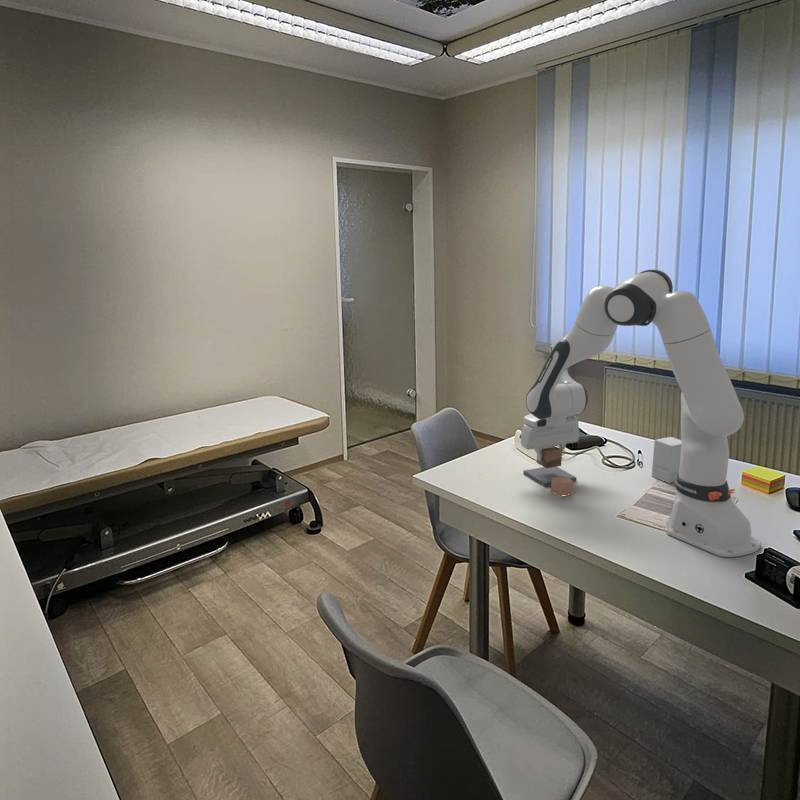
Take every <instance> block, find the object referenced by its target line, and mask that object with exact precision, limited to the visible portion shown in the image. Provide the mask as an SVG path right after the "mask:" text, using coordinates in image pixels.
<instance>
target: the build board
mask: <svg viewBox="0 0 800 800" xmlns="http://www.w3.org/2000/svg"><path fill="white" fill-rule="evenodd" d="M523 475H525V476H526V477H528V478H529V479H531V480H533V481H535V482H536V483H537V482H538V483H537V484H539V485H541V486H542V485H543V487H544V488H545V486H547V487H551V486H550V485H551V482H552V478H555V477H560V476H565V477H567V478H569V479H571V480H572V481H573V482H577V476H575V475H573V474H572V473H569V472H567V471H565V470H563V469H562V468H560V467H559V466H557V467H551V468H545V467H543V466H542V467H541V466H540V467H537V468H531V469H525V470H523Z"/></svg>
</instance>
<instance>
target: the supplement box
mask: <svg viewBox="0 0 800 800" xmlns="http://www.w3.org/2000/svg"><path fill="white" fill-rule="evenodd" d="M681 446H682V440H681V439H678V438H676V437H673V436H669V437H663V438H657V439H654V444H653V453H652V454H653V455H652V456H653V457H652V467H651V469H652V471H651V477H652V476H653V477H652V478H655V479H657V480H659V479H660V481H661V480H662V482H664V481H665V482H664V483H666V482H667V483H666V484H668V483H669V484H672V483H671V482H674V483H676V479H677V475H678V474H679V468H680V458H681Z"/></svg>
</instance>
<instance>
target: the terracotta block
mask: <svg viewBox="0 0 800 800" xmlns="http://www.w3.org/2000/svg"><path fill="white" fill-rule="evenodd" d="M573 488H574V481H572V480H571V479H569V478H567V477H565V476H560V477H555V478H552V482H551V486H550V492H551V491H552V492H551V493H553V492H554V493H556V494H557V495H556V494H555V495H556V496H558V495H559V496H562V495H567V496H569V495H568V494H572V495H573V492H574V491H573V490H574V489H573ZM554 493H553V494H554ZM559 496H558V497H559ZM562 497H563V496H562Z"/></svg>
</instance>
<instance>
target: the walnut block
mask: <svg viewBox="0 0 800 800" xmlns="http://www.w3.org/2000/svg"><path fill="white" fill-rule="evenodd" d="M540 452H541V454H543V455H544V460H538V459H537V458H536V463H537V464H538V465H540V466H542V467H545V468H551V467H561V466H562V458H563V452H562V449H560V448H559V446H558V447H557V445H555V446H549V447H542V450H541V451H540Z"/></svg>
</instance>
